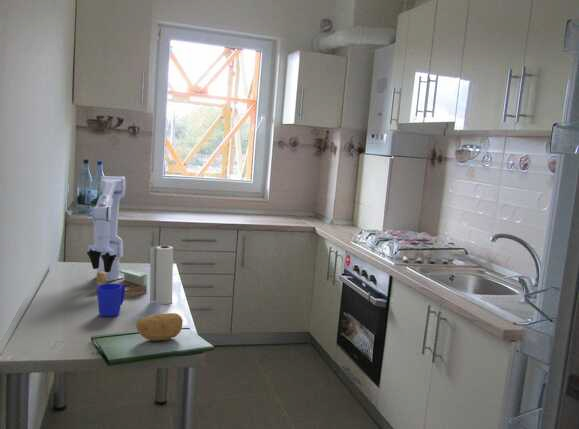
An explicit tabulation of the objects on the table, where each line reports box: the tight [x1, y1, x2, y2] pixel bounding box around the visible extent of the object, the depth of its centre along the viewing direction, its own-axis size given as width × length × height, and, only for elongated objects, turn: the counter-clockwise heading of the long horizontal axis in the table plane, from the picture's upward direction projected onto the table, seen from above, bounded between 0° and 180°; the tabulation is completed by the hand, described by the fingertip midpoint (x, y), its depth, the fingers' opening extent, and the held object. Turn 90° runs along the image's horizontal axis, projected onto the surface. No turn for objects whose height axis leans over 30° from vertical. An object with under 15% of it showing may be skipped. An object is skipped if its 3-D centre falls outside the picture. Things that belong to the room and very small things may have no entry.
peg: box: [96, 272, 107, 287], centre depth 216 cm, size 4×4×7 cm
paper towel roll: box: [149, 245, 174, 305], centre depth 203 cm, size 7×6×21 cm
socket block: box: [108, 279, 148, 299], centre depth 214 cm, size 12×12×3 cm
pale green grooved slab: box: [119, 268, 148, 288], centre depth 217 cm, size 12×4×8 cm, turn 55°
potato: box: [135, 312, 184, 342], centre depth 167 cm, size 10×14×8 cm
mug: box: [96, 282, 125, 318], centre depth 190 cm, size 8×12×10 cm
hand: (101, 270), depth 215 cm, fingers open, 7 cm apart
